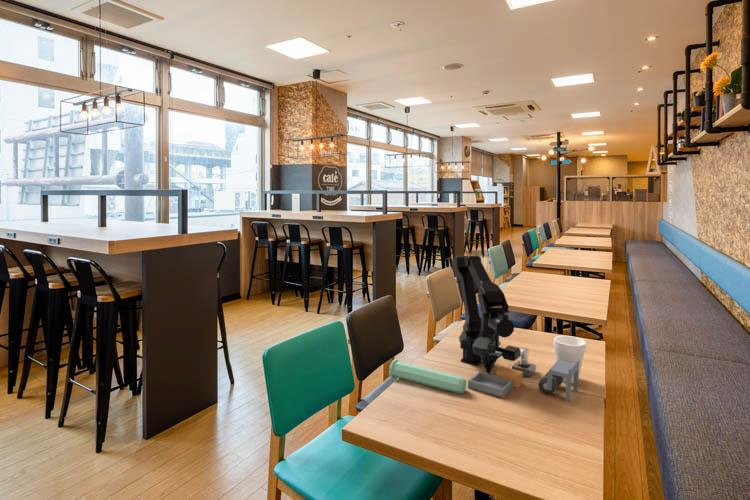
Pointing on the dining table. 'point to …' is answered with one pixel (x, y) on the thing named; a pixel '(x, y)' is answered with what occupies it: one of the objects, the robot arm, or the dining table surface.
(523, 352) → the pin
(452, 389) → the container
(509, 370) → the block
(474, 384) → the tray
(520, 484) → the dining table surface
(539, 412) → the dining table surface
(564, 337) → the foam cup
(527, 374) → the pin bracket
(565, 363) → the grey wheeled cart
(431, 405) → the dining table surface
